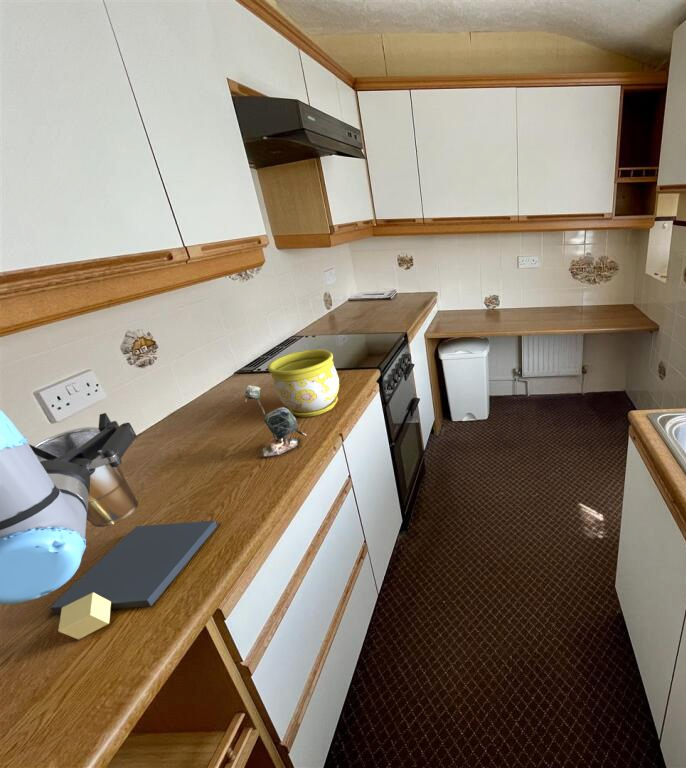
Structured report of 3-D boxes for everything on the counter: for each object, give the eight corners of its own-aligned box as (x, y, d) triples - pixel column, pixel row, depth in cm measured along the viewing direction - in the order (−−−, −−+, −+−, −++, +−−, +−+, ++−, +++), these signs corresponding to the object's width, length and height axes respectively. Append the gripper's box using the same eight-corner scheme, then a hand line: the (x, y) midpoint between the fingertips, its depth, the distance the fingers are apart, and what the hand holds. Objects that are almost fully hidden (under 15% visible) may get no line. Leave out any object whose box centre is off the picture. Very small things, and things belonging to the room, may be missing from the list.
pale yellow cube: (78, 640, 63) (57, 631, 60) (81, 616, 65) (61, 607, 63) (109, 623, 64) (90, 614, 62) (111, 601, 67) (93, 592, 64)
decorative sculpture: (302, 453, 106) (279, 384, 97) (256, 459, 105) (228, 390, 96) (311, 437, 113) (290, 371, 105) (268, 442, 112) (243, 376, 103)
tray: (53, 613, 67) (49, 607, 67) (139, 531, 84) (136, 526, 83) (151, 606, 68) (147, 600, 67) (217, 525, 84) (214, 520, 83)
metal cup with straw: (69, 555, 65) (-81, 404, 48) (72, 511, 72) (-58, 366, 55) (154, 519, 71) (46, 373, 54) (148, 481, 78) (52, 342, 61)
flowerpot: (287, 428, 118) (269, 377, 111) (281, 405, 132) (265, 358, 125) (350, 409, 127) (337, 361, 120) (338, 389, 141) (326, 345, 134)
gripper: (-81, 576, 45) (-31, 485, 60) (171, 480, 58) (160, 425, 73) (-132, 526, 42) (-65, 443, 57) (148, 436, 55) (141, 388, 70)
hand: (62, 433), depth 65 cm, fingers closed on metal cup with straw, 10 cm apart
